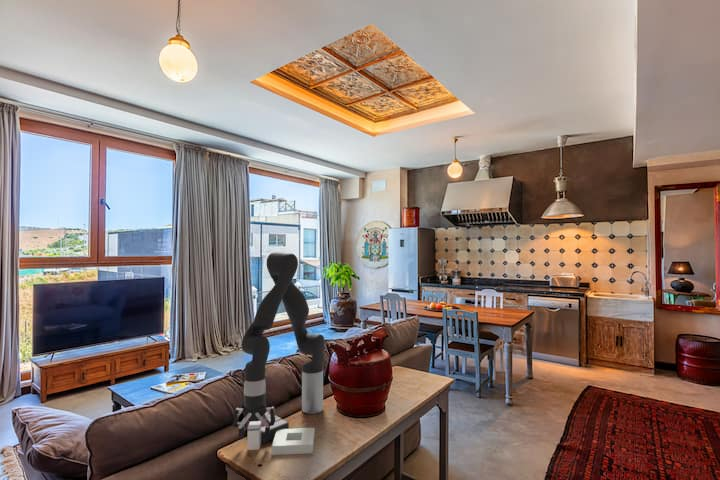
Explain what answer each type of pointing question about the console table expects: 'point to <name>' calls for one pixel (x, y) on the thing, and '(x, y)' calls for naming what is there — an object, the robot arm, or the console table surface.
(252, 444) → the white rectangular block
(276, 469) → the console table surface
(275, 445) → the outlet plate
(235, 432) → the console table surface
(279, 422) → the dark grey product box
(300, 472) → the console table surface
